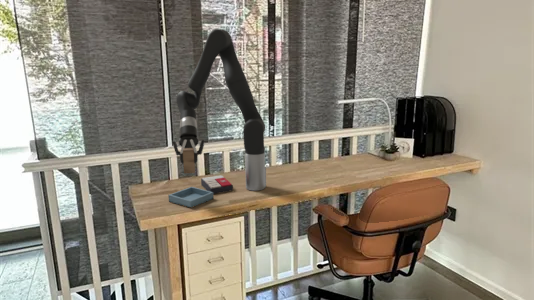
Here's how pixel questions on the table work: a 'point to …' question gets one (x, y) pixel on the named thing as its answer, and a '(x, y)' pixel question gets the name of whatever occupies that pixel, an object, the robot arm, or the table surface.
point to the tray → (191, 196)
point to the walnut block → (188, 160)
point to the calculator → (216, 184)
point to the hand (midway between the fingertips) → (188, 162)
